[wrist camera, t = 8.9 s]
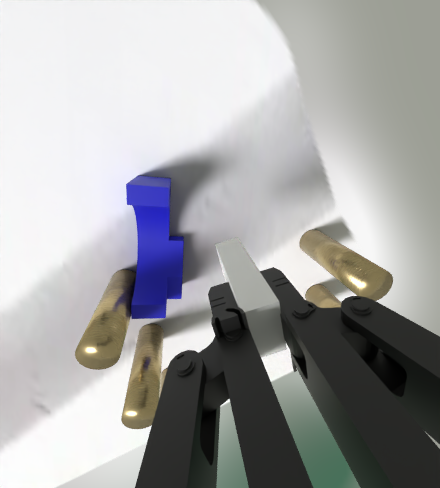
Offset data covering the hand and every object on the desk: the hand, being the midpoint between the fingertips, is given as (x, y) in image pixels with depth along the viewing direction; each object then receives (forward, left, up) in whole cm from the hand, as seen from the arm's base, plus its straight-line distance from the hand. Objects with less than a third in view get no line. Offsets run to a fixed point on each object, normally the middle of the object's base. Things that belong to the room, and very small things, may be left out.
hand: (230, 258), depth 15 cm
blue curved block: (+1, -5, -11) cm, 12 cm away
